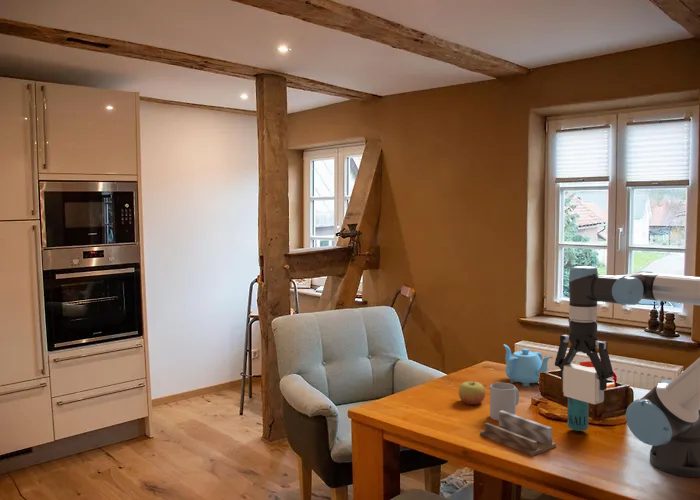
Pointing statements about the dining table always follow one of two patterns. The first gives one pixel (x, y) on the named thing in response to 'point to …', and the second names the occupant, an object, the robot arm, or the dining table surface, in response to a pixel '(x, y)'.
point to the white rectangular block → (580, 383)
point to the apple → (471, 392)
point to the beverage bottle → (577, 414)
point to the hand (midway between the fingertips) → (583, 395)
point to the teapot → (525, 366)
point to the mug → (503, 399)
